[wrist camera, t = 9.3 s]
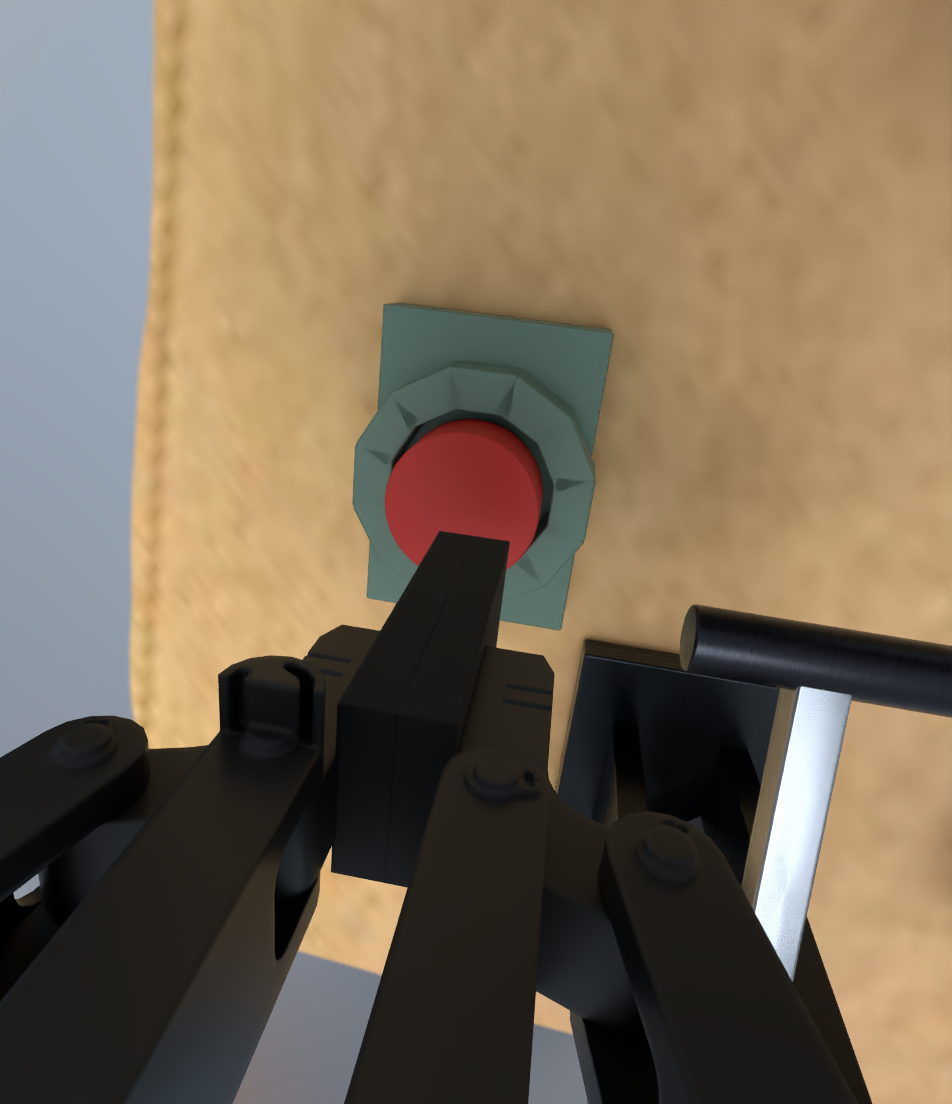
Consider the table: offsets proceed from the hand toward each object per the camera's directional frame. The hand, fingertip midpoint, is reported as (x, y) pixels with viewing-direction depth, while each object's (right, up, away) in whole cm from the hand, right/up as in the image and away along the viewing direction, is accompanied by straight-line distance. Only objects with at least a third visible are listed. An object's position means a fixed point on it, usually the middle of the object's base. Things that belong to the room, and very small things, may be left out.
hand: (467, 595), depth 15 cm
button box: (+1, +4, +9) cm, 10 cm away
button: (0, +3, +7) cm, 7 cm away
